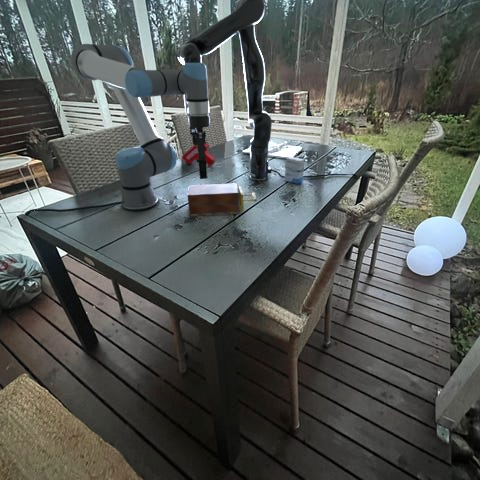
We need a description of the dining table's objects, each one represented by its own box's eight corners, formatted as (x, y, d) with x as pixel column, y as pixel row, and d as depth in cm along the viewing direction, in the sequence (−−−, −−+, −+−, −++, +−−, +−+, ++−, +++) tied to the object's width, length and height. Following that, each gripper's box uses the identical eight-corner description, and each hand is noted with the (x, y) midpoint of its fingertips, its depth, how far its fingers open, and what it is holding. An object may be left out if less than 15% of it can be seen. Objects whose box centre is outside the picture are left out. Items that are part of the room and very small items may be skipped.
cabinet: (236, 203, 121) (236, 183, 116) (238, 213, 112) (238, 192, 107) (191, 205, 120) (188, 185, 115) (189, 216, 111) (187, 195, 106)
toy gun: (219, 159, 165) (203, 138, 161) (216, 161, 162) (200, 139, 158) (199, 174, 175) (184, 155, 171) (196, 176, 172) (181, 156, 168)
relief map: (291, 159, 177) (291, 151, 174) (243, 153, 190) (243, 145, 187) (302, 149, 197) (303, 142, 194) (258, 144, 211) (258, 137, 208)
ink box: (302, 181, 142) (305, 159, 136) (297, 184, 139) (300, 161, 133) (289, 177, 147) (291, 156, 141) (284, 180, 144) (285, 158, 138)
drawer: (254, 200, 121) (254, 185, 117) (257, 209, 113) (258, 193, 109) (198, 203, 119) (196, 187, 115) (197, 213, 111) (196, 196, 107)
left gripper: (188, 109, 106) (193, 163, 118) (187, 120, 85) (193, 184, 97) (207, 109, 107) (210, 162, 119) (211, 120, 86) (214, 183, 98)
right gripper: (199, 104, 107) (203, 146, 116) (205, 100, 119) (207, 138, 128) (180, 104, 108) (185, 146, 116) (188, 100, 120) (192, 138, 128)
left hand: (203, 172), depth 108 cm, fingers open, 13 cm apart
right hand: (197, 142), depth 122 cm, fingers open, 8 cm apart
